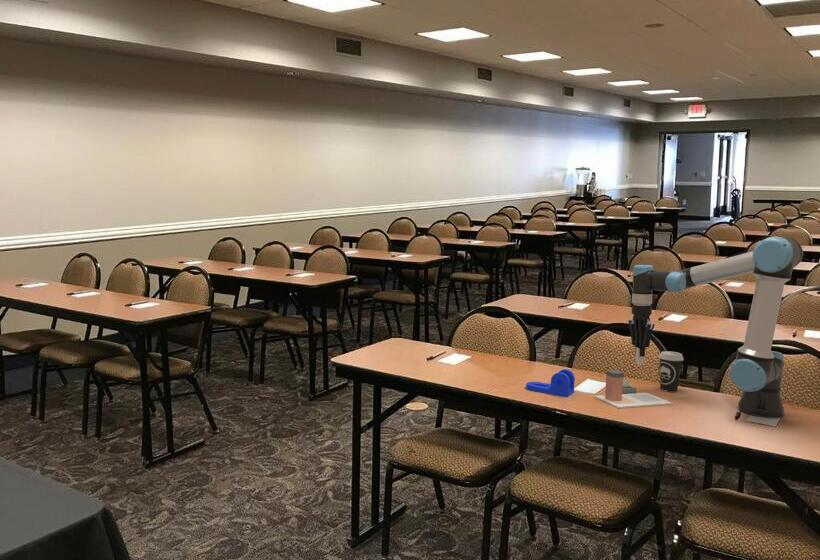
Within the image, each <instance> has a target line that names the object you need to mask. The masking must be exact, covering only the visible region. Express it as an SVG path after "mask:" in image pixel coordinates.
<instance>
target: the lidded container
mask: <svg viewBox="0 0 820 560" xmlns="http://www.w3.org/2000/svg"><path fill="white" fill-rule="evenodd" d="M624 377H625V373H624V372H623V371H621V370H618V369H614V370H613V369H611V370H609V369H608V370H606V371H605V387H604V388H605V389H604V390H605V391H604V395H605V398H606V399H608V400H610V401H622V389H623V380H624Z"/></svg>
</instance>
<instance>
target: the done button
mask: <svg viewBox="0 0 820 560" xmlns="http://www.w3.org/2000/svg"><path fill="white" fill-rule="evenodd" d="M629 385H630V380H627V379H623V388H629Z"/></svg>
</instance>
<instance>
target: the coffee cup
mask: <svg viewBox="0 0 820 560" xmlns="http://www.w3.org/2000/svg"><path fill="white" fill-rule="evenodd" d="M658 358H659V372H660V373H659V385H660V387H659V388H661V389H663V390H662V391H664V390H667V391H666V392H670V391H675V392H677V391H678V388H679V383H680V377H681V371H682V365H683V362H684V360H685V359H684V356H683V354H682V353H680V352H678V351H677V352H676V351H669V350H668V351H666V350H665V351H661V352H660V354H659V356H658ZM661 389H660V390H661ZM676 390H677V391H676Z"/></svg>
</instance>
